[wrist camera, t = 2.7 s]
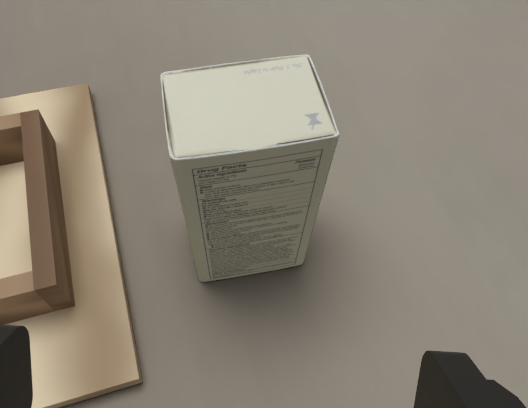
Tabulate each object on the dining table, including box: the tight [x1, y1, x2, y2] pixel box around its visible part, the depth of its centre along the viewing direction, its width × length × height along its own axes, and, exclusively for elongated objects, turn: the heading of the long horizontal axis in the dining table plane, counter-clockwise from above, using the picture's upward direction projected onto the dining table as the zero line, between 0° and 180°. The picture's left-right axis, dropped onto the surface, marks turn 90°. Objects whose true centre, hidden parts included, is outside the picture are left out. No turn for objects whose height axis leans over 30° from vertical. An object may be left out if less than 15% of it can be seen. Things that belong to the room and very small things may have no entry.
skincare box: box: [160, 55, 339, 282], centre depth 23 cm, size 6×4×12 cm
